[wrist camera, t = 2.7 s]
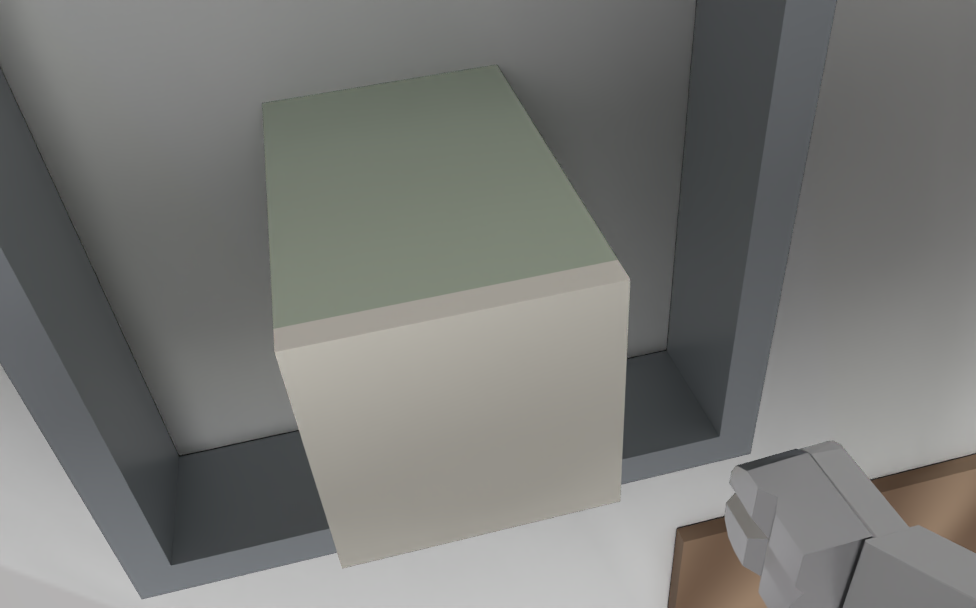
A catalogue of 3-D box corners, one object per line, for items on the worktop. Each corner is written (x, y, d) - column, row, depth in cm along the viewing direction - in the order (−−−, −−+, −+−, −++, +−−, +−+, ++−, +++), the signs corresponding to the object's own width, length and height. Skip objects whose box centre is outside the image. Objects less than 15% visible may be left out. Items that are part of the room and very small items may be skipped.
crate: (771, -272, 15) (885, -256, 12) (695, 368, 25) (750, 453, 23) (-179, -165, 13) (-288, -117, 10) (153, 488, 23) (141, 599, 20)
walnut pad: (1019, 443, 32) (1030, 454, 32) (925, 634, 41) (932, 645, 40) (677, 528, 30) (683, 542, 30) (655, 710, 39) (660, 722, 39)
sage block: (496, 64, 18) (630, 279, 12) (509, 253, 21) (620, 501, 15) (262, 103, 17) (274, 352, 11) (311, 292, 20) (342, 568, 14)
